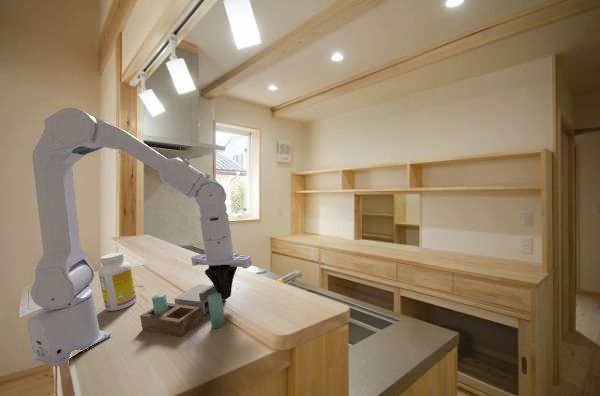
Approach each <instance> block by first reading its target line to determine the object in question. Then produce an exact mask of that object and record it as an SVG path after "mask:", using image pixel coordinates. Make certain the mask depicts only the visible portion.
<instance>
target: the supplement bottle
mask: <svg viewBox="0 0 600 396" xmlns="http://www.w3.org/2000/svg"><path fill="white" fill-rule="evenodd" d="M124 258H125V256H124V252H121V251H120V252H114V253H109V254H108V253H107V254H105V255H102V256H101V257H100V263H101V264H102V267H101V268H100V269H99V270H98V279H99V283H100V289H101V294H102V299H103V304H104V307H105V309H106V310H107V311H109V312H115V311H121V310H123V309H125V308H128V307H130V306H132V305H134V303H135V302H136V301H137V294H136V290H135V283H134V278H133V273H132V268H131V264H130V263H129V262H127V261H124Z"/></svg>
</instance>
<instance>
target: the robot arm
mask: <svg viewBox="0 0 600 396" xmlns="http://www.w3.org/2000/svg"><path fill="white" fill-rule="evenodd" d="M43 123H44V130H43V131H42V134H41V135H40V138H39V140H38V141H37V143H36V145H35V147H34V149H33V151H32V156H31V159H32V166H33V175H34V184H35V192H36V201H37V211H38V218H39V225H40V226H39V227H40V234H41V245H42V252H43V254H42V256H41V258H40V260H39V261H38V263H37V265H36V268H35V270H34V273H35V279H34V282H33V284H32V286H31V289H30V296H31V299H32V301H33V303H35V304H36V305H37V306H38V307H40V308H42V310H40V311H39V312H37V313H35V314H34V315H31V316H30V317H29V318H28V320H27V324H26V325H27V333H28V336H29V342H30V345H31V350H32V354H33V355H32V360H35V361H38V362H40V363H43V364H46V365H49V366H53V367H59V366H62V364H64V363H66V362H68V361H70V359H69V357H70V354H71V352H72V351H74V350H79V349H80V350H84V349H86V348H88V347H90V346H92V345H94V344H95V345H97V344H99V343H100V342H102V341H104V340H105V339H107V338H108V337H110V336H111V335H112V332H109V331H104V330H102V329H101V330H100V324H99V320H98V315H97V314H98V313H97V309H96V305H95V300H94V299H95V298H94V295H93V290H92V289H91V284H92V282H93V280H94V278H95V270H94V267H93V266H92V264H90V262H89V259H88V255H87V252H86V251H85V250H84V249H83V248H82V246H81V239H80V230H79V222H78V221H79V220H78V211H77V202H76V200H77V199H76V192H75V181H74V174H73V171H74V170H73V166H74V164H76V163H77V162H79V161H80V160H81V159H82V158H84V157H85V156H86V155H88V154H91V153H94V152H96V151H99V150H101V149H103V148H105V149H106V148H107V149H111V150H118V151H122V152H124V154H126V155H129V156H131V157H132V158H133V159H136V160H138V161H139V162H141V163H142V164H144V165H147V166H149V167H150V168H152V169H154V170H155V171H157V172H158V174H159V176H160V180H161V182H162V183H164V184H166V185H168V186H169V187H171V188H173V189H174V190H175V191H177V192H179V193H180V194H182V195H184V196H185V197H188V198H189V199H191V198H194V199H195V202H196V203H197V205H198V206H199V212H200V217H199V220H200V222H199V223H200V227H201V228H200V229H201V235H202V240H203V241H202V242H203V249H204V254H199V253H198V254H195V255H194V256H191V257H190V260H191V264H192V265H191V266H195V267H196V266H208V268H207V269H205V270H204V275H205V276H206V277H208V279H209V280H210V282H211V283H212V285H213V284H214V286H215V288H216V290H217V292H218V293H220V294H221V297H222V301H226V300H227V299H229V298H230V297H231V296H232V288H233V282H234V277H235V274H236V271H237V269H238V268H242V269H244V270H245V269H248V268H250V267H251V266H253V264H252V257H251V256H248V255H243V254H238V253H235V250H234V248H233V242H232V236H231V235H232V233H231V226H230V221H229V219H230V218H229V214H228V212H227V209H228V207H227V205H226V200H227V193H226V190H225V187H223V186H222V184H221V183H219V182H218V180H215V179H210V178H211V175H210V173H204V172H202V171H200V170H198V168H196V167H194V166H192V165H191V161H190V160H188V159H186V158H184V159H181V158H179V157H173V158H167V157H166V156H164V155H163V154H161V153H160V152H158V151H156V150H155V149H154V148H152V147H150V146H149V145H148V144H146V143H144V142H143V141H142V140H140V139H139V138H137V137H135V136H134V135H132V134H130V132H128V131H127V130H125V129H122V128H120V127H118V126H116V125H114V124H111V123H110V122H107V121H105V120H102V119H100V118H98V117H96V116H92V115H90V114H88V113H87V112H86V111H85V110H83V109H80V108H77V107H65V108H61V109H59V110H57V111H56V112H55V113H53V114H51V115H49V117H46V118H45V119H44V122H43ZM98 342H99V343H98ZM96 343H97V344H96ZM95 345H94V346H95ZM92 347H93V346H92ZM90 348H91V347H90ZM88 349H89V348H88Z"/></svg>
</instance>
